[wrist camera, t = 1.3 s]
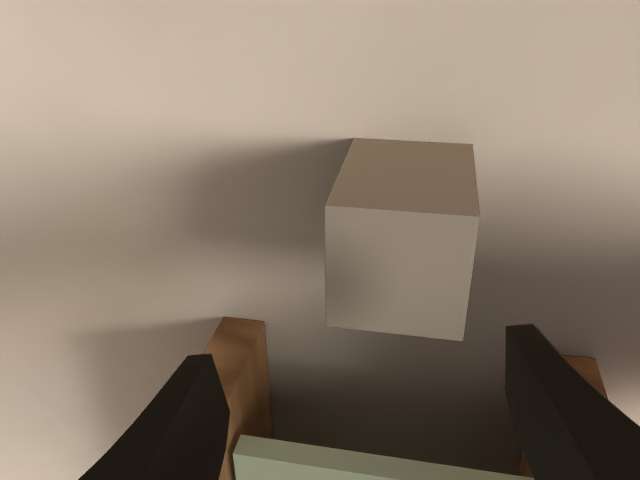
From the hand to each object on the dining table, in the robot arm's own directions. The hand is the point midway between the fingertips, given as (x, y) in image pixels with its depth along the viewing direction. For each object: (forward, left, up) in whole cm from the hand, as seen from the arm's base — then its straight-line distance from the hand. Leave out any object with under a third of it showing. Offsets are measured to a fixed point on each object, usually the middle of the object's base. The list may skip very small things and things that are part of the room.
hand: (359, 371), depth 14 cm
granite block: (-1, 0, -10) cm, 10 cm away
